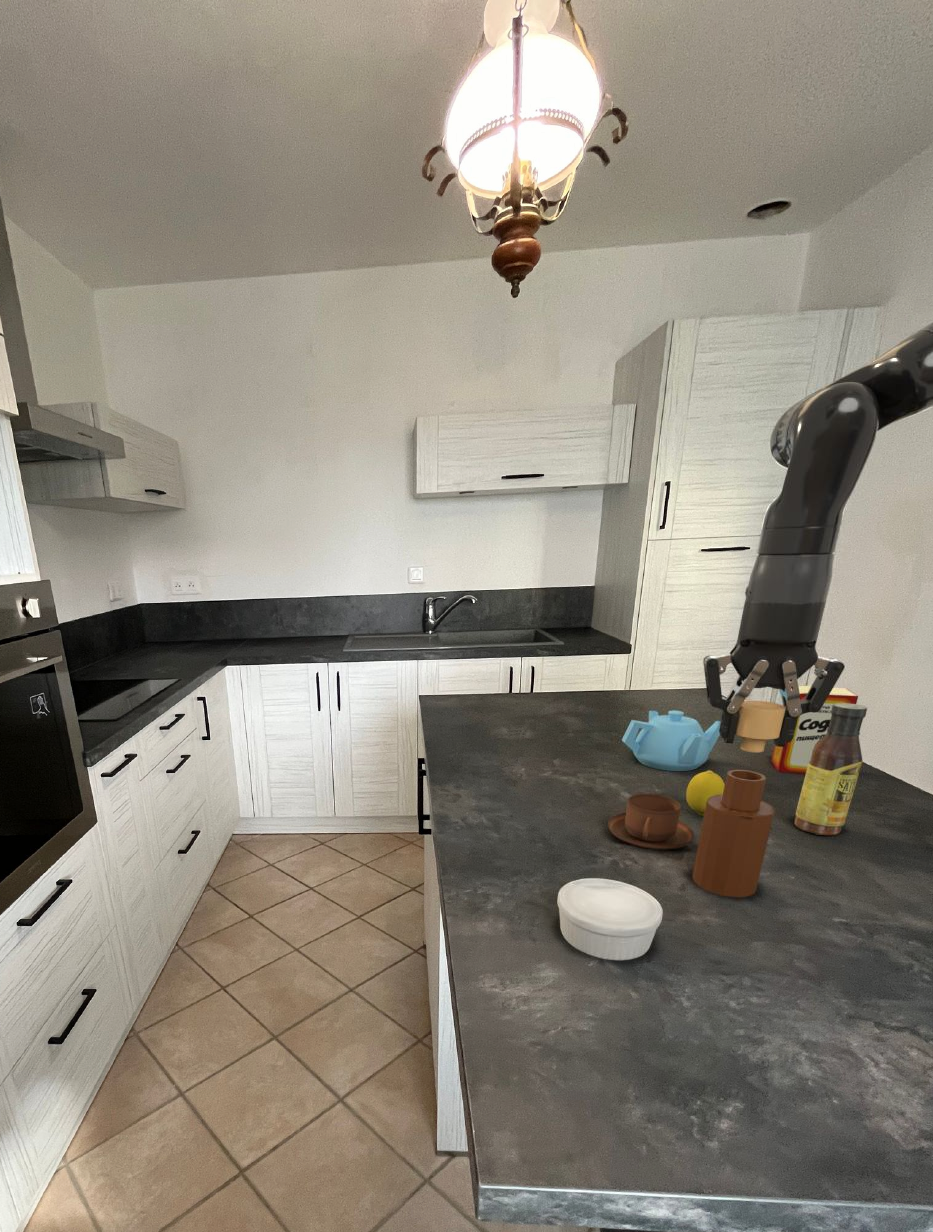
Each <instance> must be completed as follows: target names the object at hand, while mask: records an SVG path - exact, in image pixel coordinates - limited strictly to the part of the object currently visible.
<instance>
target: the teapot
mask: <svg viewBox="0 0 933 1232" xmlns="http://www.w3.org/2000/svg"><path fill="white" fill-rule="evenodd" d="M684 715H685V712H683V711H680V710H669V711H668V714H662V715H659V711H656V710H649V711H648V722H647V721H641V720H635V719H631V721H630V723H629V725H628V727H627V729H626V731H625V733H624V735H623V737H622V739H621V741H622V742H623V743H624V744H625V745H626V746H627V747H628V748H629V749H630V750H631V751H632V753H633V755H634V757H635V758H636V759H637V760H638V762H639V763H641V764H642V765H643V766H646V767H649V768H653V769H657V770H661V771H662V770H663V771H671V772H688V771H693V770H697V769H698V768H699V767H701V766H702V765H703V764H705V763H706V762H707V760H708V759H709V754H710V753H711V751H712V750H713V748H714V746H715V744H716V743H717V741H718V739H719V737H721V736H720V733H719V728H720V723H721V720H715V721H714V723H713V724H712V725H711V726H709V727H708V729H706V730H705V731H704V730H703V727H702V726H701V724H700V723H699V721H698V720H697V719H694V718H692V717H689V716H684ZM640 729H641V730H640ZM639 730H640V731H639Z"/></svg>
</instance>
